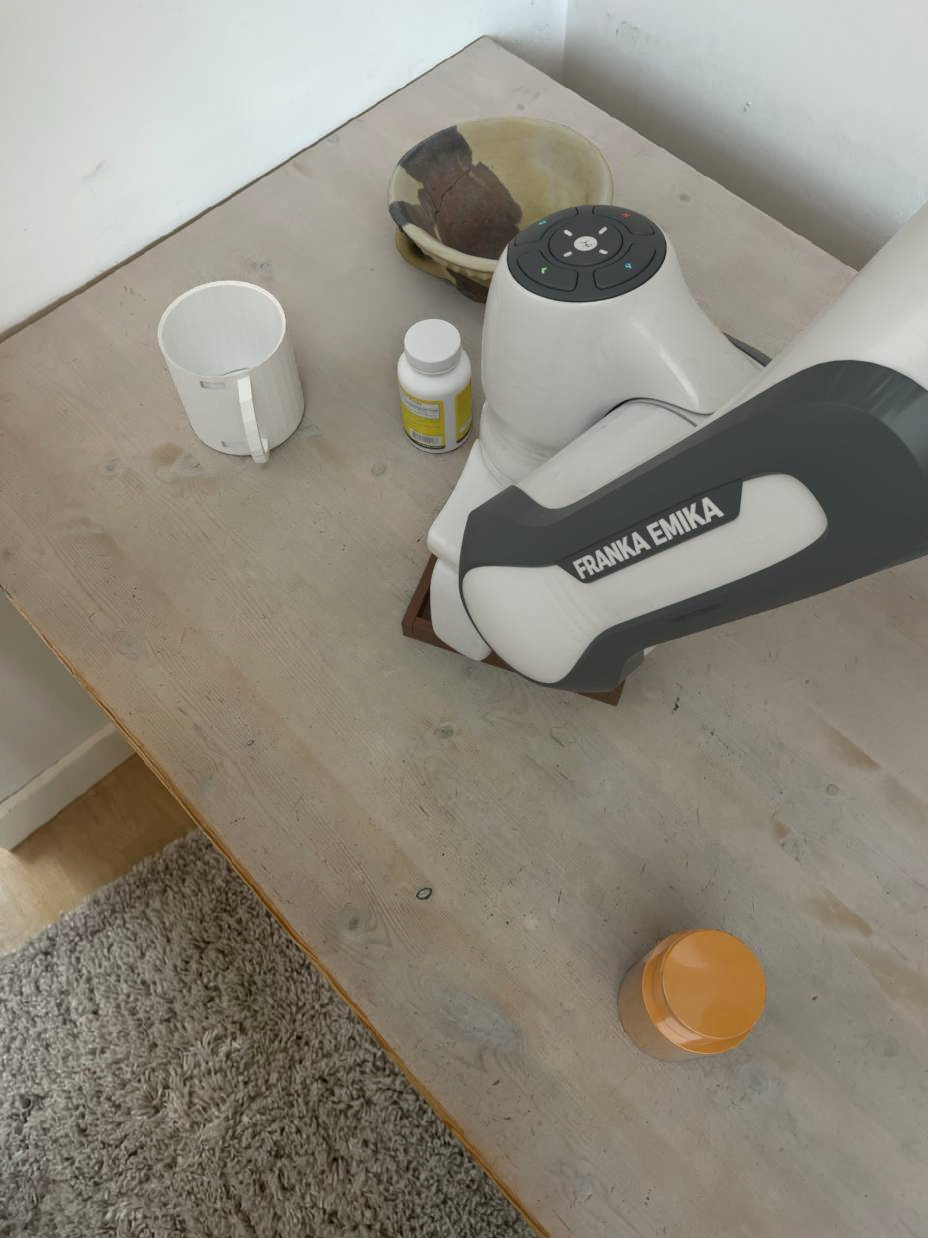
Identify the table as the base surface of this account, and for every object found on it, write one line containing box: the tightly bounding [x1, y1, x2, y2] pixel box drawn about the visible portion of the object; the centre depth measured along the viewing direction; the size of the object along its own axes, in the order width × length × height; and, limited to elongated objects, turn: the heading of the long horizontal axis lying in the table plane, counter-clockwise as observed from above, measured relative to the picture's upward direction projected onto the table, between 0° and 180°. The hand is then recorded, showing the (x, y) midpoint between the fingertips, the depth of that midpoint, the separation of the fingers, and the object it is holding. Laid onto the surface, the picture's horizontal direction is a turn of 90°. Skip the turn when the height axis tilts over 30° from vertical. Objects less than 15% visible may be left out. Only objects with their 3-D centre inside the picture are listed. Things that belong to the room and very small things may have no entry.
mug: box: [157, 279, 305, 465], centre depth 73 cm, size 12×9×9 cm
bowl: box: [386, 115, 615, 303], centre depth 80 cm, size 18×18×10 cm
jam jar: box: [617, 927, 767, 1063], centre depth 52 cm, size 6×6×12 cm
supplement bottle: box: [396, 318, 473, 454], centre depth 73 cm, size 5×5×10 cm
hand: (538, 576), depth 69 cm, fingers open, 6 cm apart
